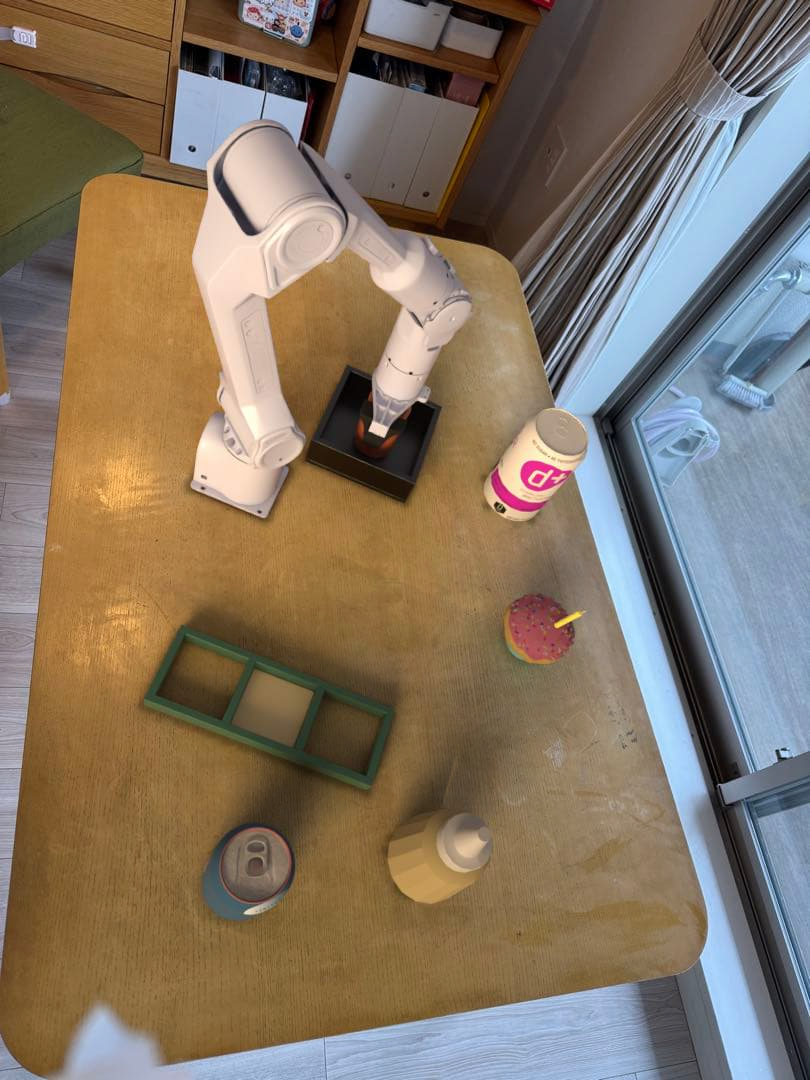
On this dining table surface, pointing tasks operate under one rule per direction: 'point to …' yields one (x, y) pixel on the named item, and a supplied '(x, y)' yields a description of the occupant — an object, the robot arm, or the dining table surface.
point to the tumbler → (369, 450)
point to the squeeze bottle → (439, 853)
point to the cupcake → (539, 629)
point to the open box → (344, 459)
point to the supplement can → (536, 464)
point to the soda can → (248, 872)
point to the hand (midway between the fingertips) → (377, 427)
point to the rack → (272, 707)
